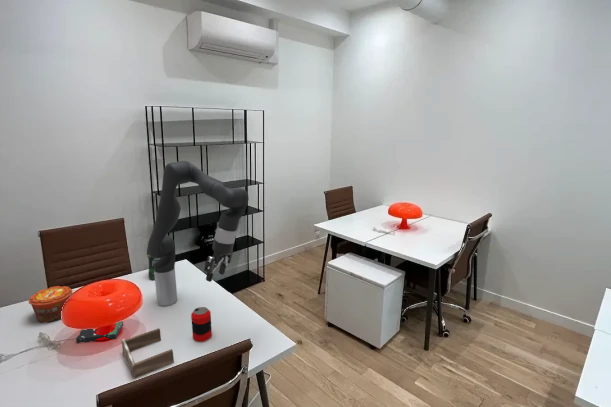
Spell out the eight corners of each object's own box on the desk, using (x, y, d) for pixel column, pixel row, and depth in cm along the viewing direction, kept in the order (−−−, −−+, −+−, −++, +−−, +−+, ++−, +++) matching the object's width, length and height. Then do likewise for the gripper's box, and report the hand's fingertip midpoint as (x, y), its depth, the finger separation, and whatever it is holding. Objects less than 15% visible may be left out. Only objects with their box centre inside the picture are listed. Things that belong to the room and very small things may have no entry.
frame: (123, 352, 134) (121, 339, 132) (160, 338, 142) (158, 326, 141) (133, 378, 121) (131, 365, 119) (173, 362, 129) (172, 349, 127)
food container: (35, 311, 161) (31, 290, 158) (76, 302, 169) (73, 282, 166) (29, 329, 147) (24, 306, 145) (74, 318, 155) (70, 297, 152)
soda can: (199, 329, 149) (197, 304, 146) (215, 332, 146) (213, 307, 144) (189, 340, 142) (187, 314, 139) (205, 343, 139) (203, 317, 137)
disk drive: (76, 345, 139) (117, 339, 142) (75, 339, 138) (116, 333, 141) (86, 330, 148) (123, 325, 152) (84, 324, 148) (123, 319, 151)
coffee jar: (148, 281, 190) (145, 249, 186) (149, 275, 198) (145, 244, 193) (167, 278, 194) (164, 247, 190) (167, 272, 201) (164, 242, 197)
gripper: (226, 231, 139) (217, 268, 142) (205, 239, 126) (195, 279, 129) (242, 238, 137) (232, 275, 140) (222, 246, 123) (212, 287, 127)
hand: (215, 277), depth 135 cm, fingers open, 8 cm apart
